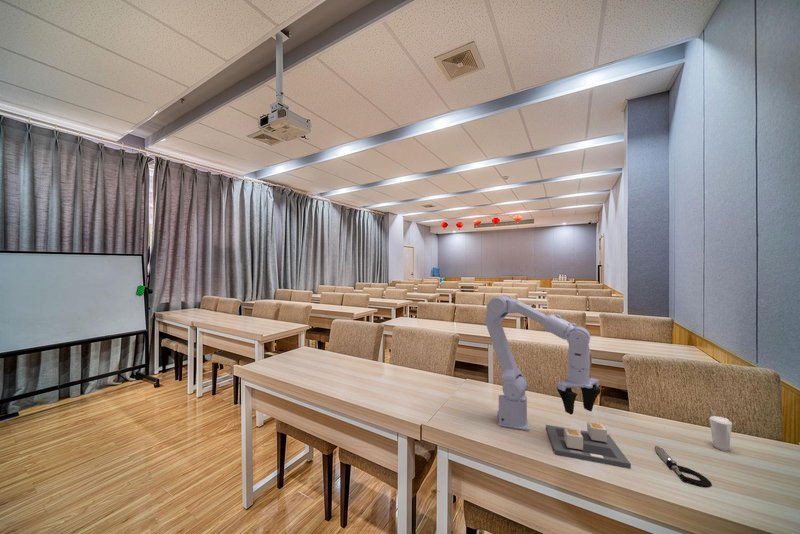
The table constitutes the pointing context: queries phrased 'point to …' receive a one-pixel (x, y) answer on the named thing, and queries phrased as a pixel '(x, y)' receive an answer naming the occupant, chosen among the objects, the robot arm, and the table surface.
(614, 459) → the switch plate
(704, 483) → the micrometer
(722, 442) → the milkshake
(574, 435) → the white orange cube
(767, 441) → the table surface
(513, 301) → the robot arm
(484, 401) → the table surface
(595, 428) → the white orange block
